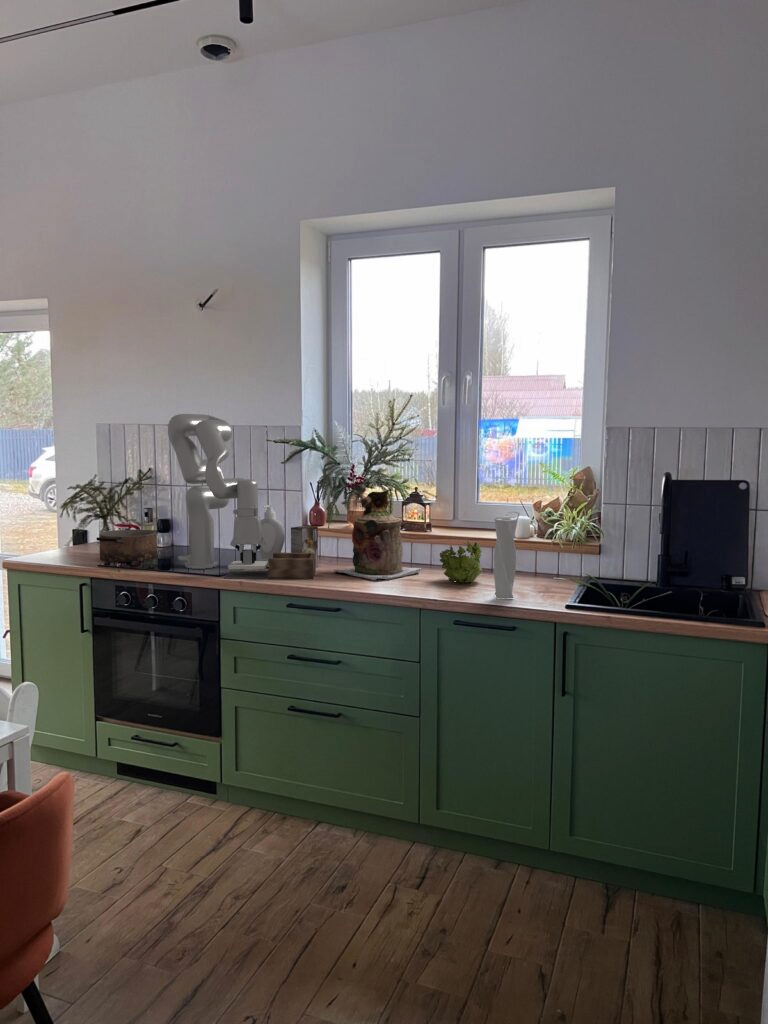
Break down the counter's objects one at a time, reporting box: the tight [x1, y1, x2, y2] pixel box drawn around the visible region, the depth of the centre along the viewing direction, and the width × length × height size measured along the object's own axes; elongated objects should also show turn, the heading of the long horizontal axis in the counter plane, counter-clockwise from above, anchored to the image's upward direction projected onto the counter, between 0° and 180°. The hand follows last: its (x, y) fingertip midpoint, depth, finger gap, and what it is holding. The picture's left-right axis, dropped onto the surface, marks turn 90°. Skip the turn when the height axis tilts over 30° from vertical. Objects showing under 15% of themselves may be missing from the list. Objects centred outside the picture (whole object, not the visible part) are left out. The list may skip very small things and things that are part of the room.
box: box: [268, 552, 317, 580], centre depth 280 cm, size 16×15×7 cm
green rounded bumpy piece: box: [439, 540, 483, 583], centre depth 271 cm, size 18×16×16 cm
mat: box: [223, 569, 269, 580], centre depth 280 cm, size 15×15×1 cm
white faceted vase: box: [493, 511, 520, 599], centre depth 246 cm, size 8×8×28 cm
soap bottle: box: [257, 504, 286, 568], centre depth 296 cm, size 13×8×24 cm, turn 69°
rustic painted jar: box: [333, 489, 422, 581], centre depth 285 cm, size 25×25×32 cm
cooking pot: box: [96, 529, 159, 563], centre depth 314 cm, size 30×22×11 cm
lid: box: [227, 548, 268, 570], centre depth 280 cm, size 13×11×6 cm
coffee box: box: [290, 525, 319, 568], centre depth 297 cm, size 9×6×16 cm
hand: (248, 562), depth 280 cm, fingers closed on lid, 3 cm apart
